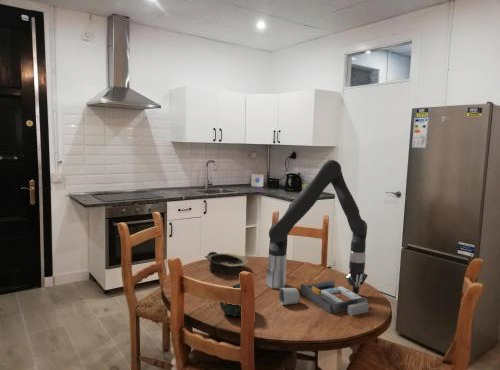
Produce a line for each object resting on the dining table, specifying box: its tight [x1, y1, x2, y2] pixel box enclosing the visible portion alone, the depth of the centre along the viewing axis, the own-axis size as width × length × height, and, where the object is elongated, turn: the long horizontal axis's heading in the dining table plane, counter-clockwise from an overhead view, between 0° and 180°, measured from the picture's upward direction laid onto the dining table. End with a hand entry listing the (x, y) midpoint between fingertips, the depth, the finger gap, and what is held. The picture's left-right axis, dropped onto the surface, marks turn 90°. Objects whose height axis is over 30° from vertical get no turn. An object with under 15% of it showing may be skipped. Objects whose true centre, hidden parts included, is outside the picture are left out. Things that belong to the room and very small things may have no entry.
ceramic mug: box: [278, 287, 301, 306], centre depth 181 cm, size 11×8×8 cm
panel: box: [346, 301, 370, 317], centre depth 172 cm, size 10×2×4 cm, turn 116°
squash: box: [219, 283, 241, 317], centre depth 167 cm, size 14×15×15 cm
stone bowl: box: [204, 251, 248, 276], centre depth 223 cm, size 25×25×9 cm
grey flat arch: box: [321, 286, 368, 303], centre depth 188 cm, size 18×2×15 cm
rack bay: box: [300, 279, 367, 314], centre depth 185 cm, size 20×24×7 cm
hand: (355, 293), depth 192 cm, fingers closed
